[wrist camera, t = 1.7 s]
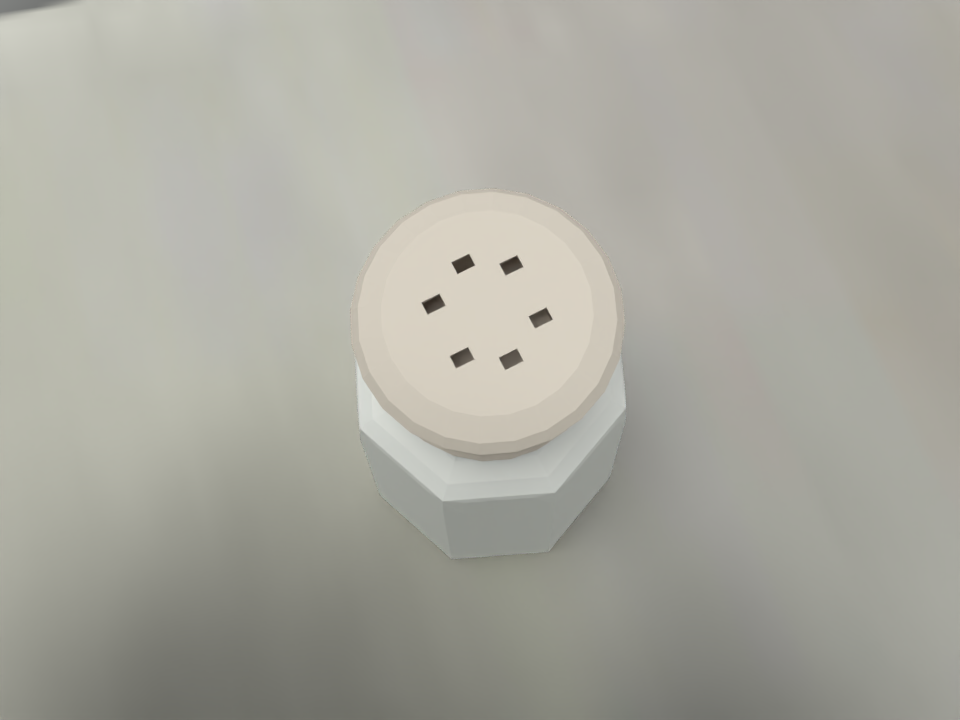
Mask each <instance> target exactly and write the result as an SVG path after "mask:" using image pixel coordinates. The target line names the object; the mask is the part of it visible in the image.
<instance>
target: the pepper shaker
mask: <svg viewBox="0 0 960 720" xmlns="http://www.w3.org/2000/svg"><path fill="white" fill-rule="evenodd" d="M350 320H351V342H352V348H353V351H354V354H355V371H356V393H357V412H358V421H359V432H360V440H361V443H362V446H363V449H364V452H365V454H366V457H367V460H368V463H369V466H370V469H371V471H372V474H373V477H374V480H375V483H376V486H377V489H378V491H379V494H380V496H381V497H382V498H383V499H384V500H386V501H387V502H388V503H389V504H390V505H391V506H392V507H393V508H395V509H396V510H397V511H398V512H399V513H400V514H401V515H402V516H404V517H405V518H406V519H407V520H408V521H409V522H410V523H411V524H413V525H414V526H415V527H416V528H417V529H418V530H419V531H420V532H422V533H423V534H424V535H425V536H426V537H427V538H428V539H429V540H431V541H432V542H433V543H434V544H435V545H436V546H437V547H438V548H440V549H441V550H442V551H443V552H444V553H445V554H446V555H447V556H449V557H450V558H451V559H462V558H475V557H488V556H501V555H515V554H528V553H541V552H549V550H550V549H551V548H552V547H553V546H554V544H555V543H556V542H557V541H558V540H559V538H560V537H561V536H562V535H563V534H564V532H565V531H566V530H567V529H568V528H569V526H570V525H571V524H572V523H573V521H574V520H575V519H576V518H577V517H578V515H579V514H580V513H581V512H582V511H583V509H584V508H585V507H586V506H587V505H588V503H589V502H590V501H591V500H592V498H593V497H594V496H595V495H596V494H597V492H598V491H599V490H600V489H601V488H602V486H603V485H604V484H605V483H606V482H607V480H608V479H609V478H610V474H611V471H612V467H613V464H614V460H615V457H616V453H617V450H618V446H619V443H620V439H621V436H622V432H623V429H624V425H625V421H626V392H625V382H624V373H623V364H622V355H621V348H622V342H623V336H624V329H625V317H624V308H623V299H622V290H621V287H620V285H619V282H618V280H617V277H616V275H615V272H614V270H613V267H612V265H611V262H610V260H609V257H608V256H607V255H606V253H605V252H604V251H603V249H602V248H601V247H600V245H599V244H598V243H597V241H596V240H595V239H594V237H593V236H592V235H591V233H590V232H589V231H588V229H586V228H585V227H584V226H582V225H581V224H580V223H579V222H577V221H576V220H575V219H574V218H572V217H571V216H570V215H569V214H567V213H566V212H565V211H564V210H562V209H561V208H559V207H557V206H555V205H552V204H550V203H548V202H546V201H543V200H541V199H539V198H537V197H534V196H532V195H530V194H526V193H520V192H514V191H508V190H502V189H496V188H490V189H477V190H464V191H458V192H455V193H452V194H449V195H446V196H443V197H440V198H437V199H434V200H431V201H428V202H426V203H424V204H423V205H421V206H419V207H418V208H416V209H415V210H413V211H412V212H410V213H409V214H407V215H405V216H404V217H402V218H401V219H399V220H398V221H397V222H396V223H395V224H394V225H393V226H392V227H391V228H390V229H389V230H388V231H387V232H386V234H385V235H384V236H383V237H382V238H381V239H380V240H379V241H378V242H377V243H376V244H375V245H374V247H373V249H372V251H371V253H370V254H369V256H368V258H367V260H366V262H365V264H364V266H363V268H362V270H361V271H360V273H359V275H358V278H357V282H356V286H355V291H354V295H353V300H352V304H351V308H350Z"/></svg>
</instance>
